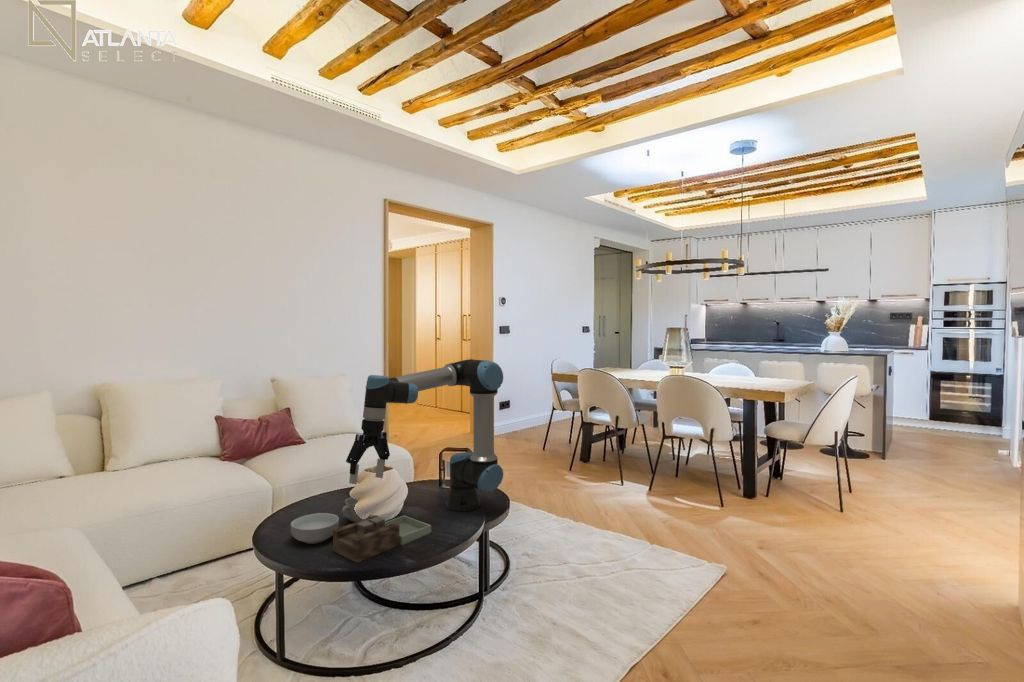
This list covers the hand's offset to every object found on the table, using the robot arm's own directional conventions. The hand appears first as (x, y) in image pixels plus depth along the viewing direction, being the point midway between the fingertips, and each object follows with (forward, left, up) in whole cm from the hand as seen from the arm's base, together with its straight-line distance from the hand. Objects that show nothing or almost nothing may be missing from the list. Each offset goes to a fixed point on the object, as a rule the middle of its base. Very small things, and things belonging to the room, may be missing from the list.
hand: (366, 480), depth 180 cm
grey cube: (-7, -3, -20) cm, 22 cm away
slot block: (-2, -3, -25) cm, 26 cm away
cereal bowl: (+5, -24, -26) cm, 35 cm away
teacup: (-15, -28, -26) cm, 41 cm away
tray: (-19, -3, -25) cm, 32 cm away
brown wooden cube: (-2, -3, -20) cm, 21 cm away
